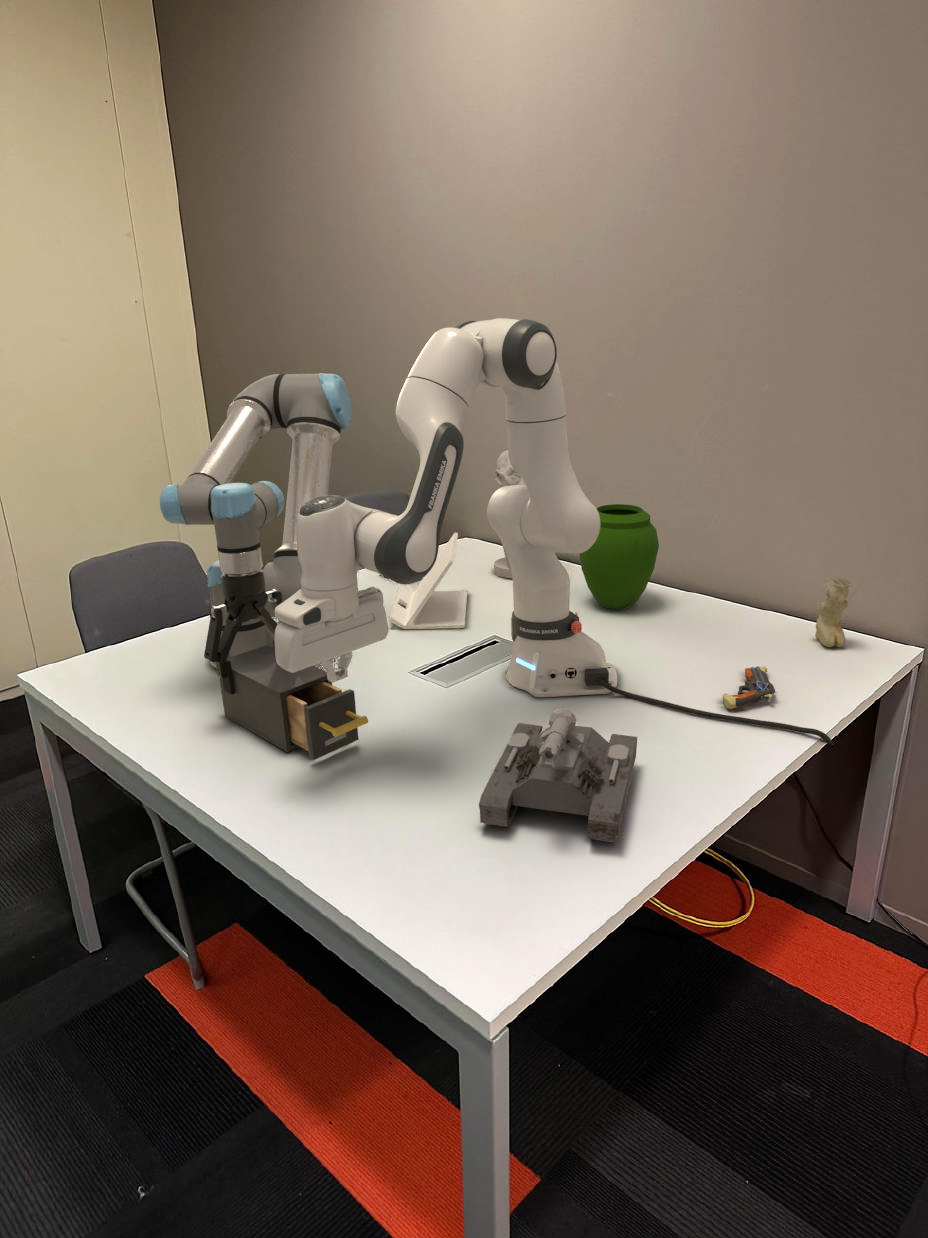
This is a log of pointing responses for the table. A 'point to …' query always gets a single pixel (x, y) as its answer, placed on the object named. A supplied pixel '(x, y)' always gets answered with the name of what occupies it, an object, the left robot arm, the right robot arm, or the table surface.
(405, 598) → the tablet stand
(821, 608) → the sculpture
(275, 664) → the cabinet
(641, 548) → the vase
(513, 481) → the bust sculpture
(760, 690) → the toy gun
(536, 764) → the toy
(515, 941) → the table surface
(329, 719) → the drawer
